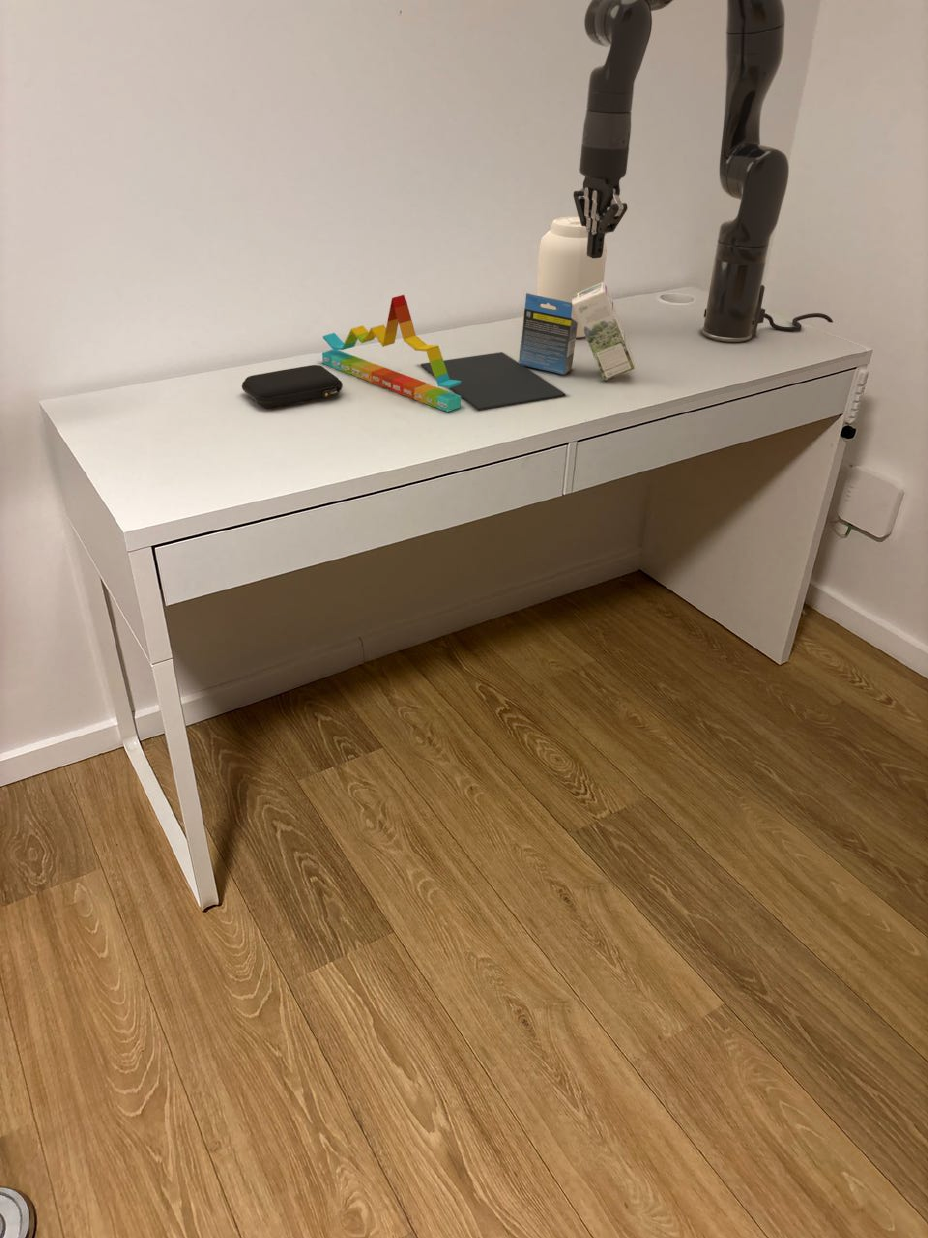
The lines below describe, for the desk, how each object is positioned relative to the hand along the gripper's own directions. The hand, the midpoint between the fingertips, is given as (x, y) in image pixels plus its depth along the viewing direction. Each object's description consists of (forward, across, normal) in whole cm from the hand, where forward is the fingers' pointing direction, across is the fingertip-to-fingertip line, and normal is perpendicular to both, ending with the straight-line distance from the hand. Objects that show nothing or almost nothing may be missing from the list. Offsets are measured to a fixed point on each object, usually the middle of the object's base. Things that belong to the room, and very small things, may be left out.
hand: (594, 256), depth 162 cm
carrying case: (+19, +4, +52) cm, 55 cm away
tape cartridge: (+18, 0, +8) cm, 20 cm away
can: (+18, +18, -7) cm, 26 cm away
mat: (+18, -2, +19) cm, 27 cm away
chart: (+18, +3, +36) cm, 41 cm away
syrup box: (+17, -9, -2) cm, 19 cm away
